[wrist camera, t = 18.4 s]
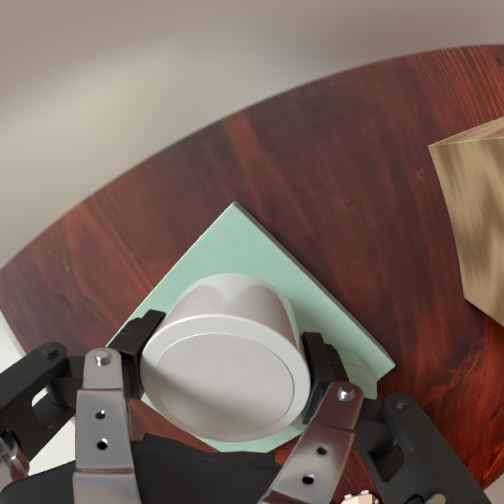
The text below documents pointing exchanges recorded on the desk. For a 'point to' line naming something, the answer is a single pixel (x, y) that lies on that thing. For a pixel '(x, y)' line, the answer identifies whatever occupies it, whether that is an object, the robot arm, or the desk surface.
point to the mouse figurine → (360, 498)
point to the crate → (476, 210)
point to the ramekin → (228, 360)
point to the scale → (290, 285)
